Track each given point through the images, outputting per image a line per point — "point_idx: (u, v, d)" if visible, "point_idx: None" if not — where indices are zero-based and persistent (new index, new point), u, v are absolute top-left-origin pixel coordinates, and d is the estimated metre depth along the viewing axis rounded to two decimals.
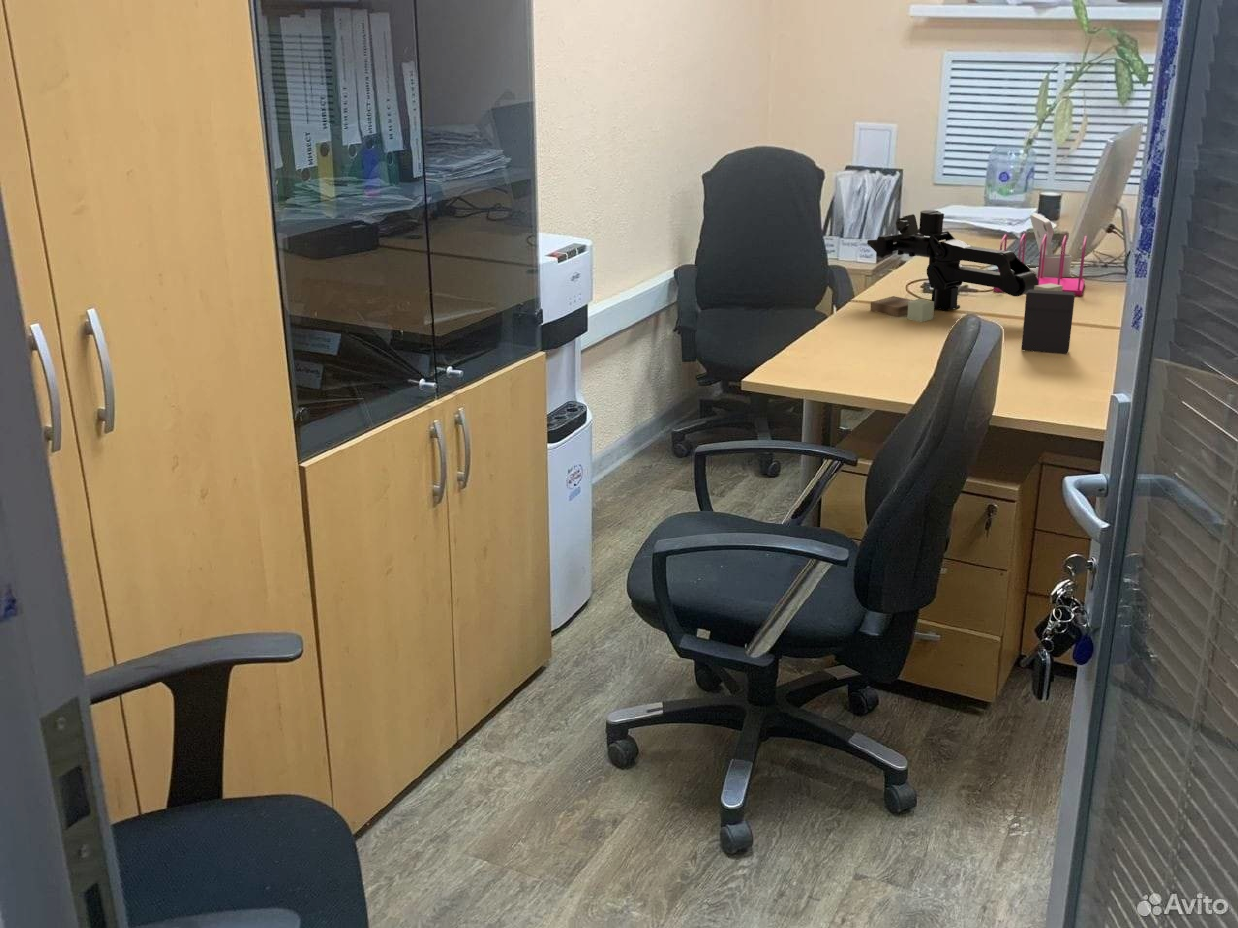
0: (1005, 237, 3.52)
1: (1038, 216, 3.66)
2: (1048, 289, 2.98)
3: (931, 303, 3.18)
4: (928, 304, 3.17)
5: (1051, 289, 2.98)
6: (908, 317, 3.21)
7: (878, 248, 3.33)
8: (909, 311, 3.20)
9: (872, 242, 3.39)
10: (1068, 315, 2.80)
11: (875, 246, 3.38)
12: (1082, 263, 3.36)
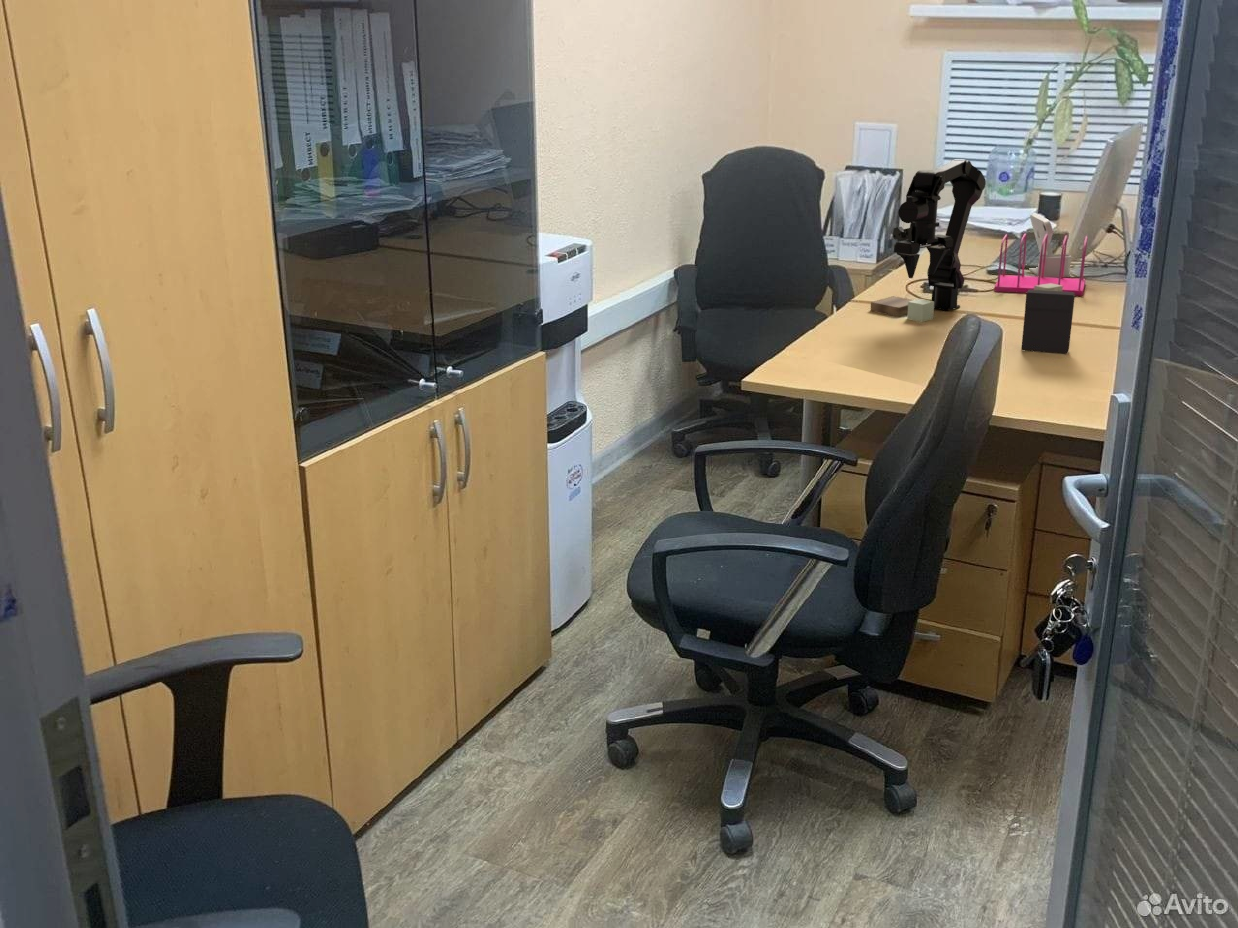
0: (1006, 237, 3.52)
1: (1038, 216, 3.66)
2: (1048, 289, 2.98)
3: (931, 303, 3.18)
4: (928, 304, 3.17)
5: (1051, 289, 2.98)
6: (908, 317, 3.21)
7: (902, 251, 3.08)
8: (909, 311, 3.20)
9: (908, 269, 3.13)
10: (1068, 315, 2.80)
11: (910, 264, 3.11)
12: (1083, 263, 3.36)
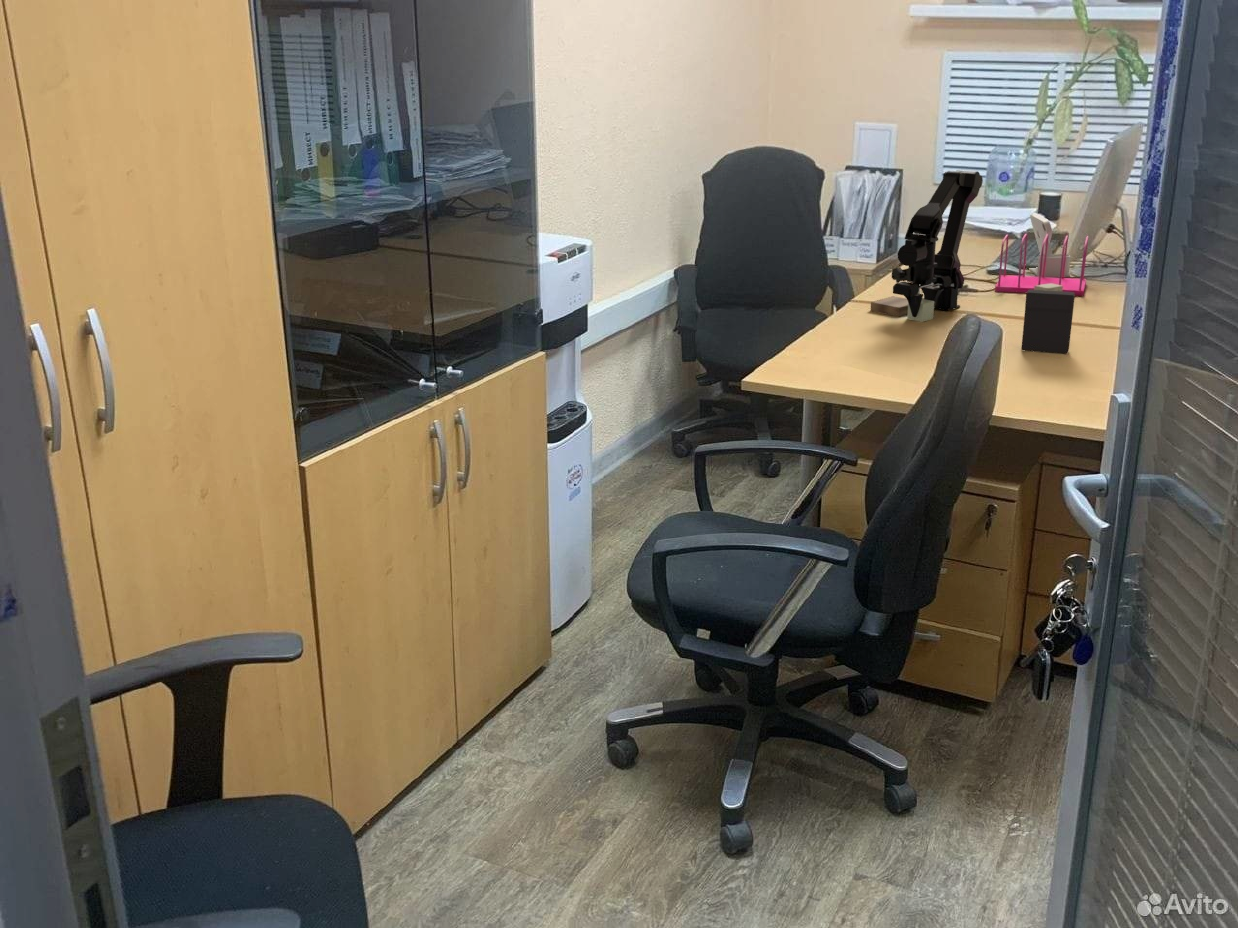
0: (1007, 237, 3.52)
1: (1037, 216, 3.66)
2: (1048, 289, 2.98)
3: (931, 303, 3.18)
4: (928, 304, 3.17)
5: (1051, 289, 2.98)
6: (908, 317, 3.21)
7: (901, 292, 3.12)
8: (909, 311, 3.20)
9: (911, 308, 3.18)
10: (1068, 315, 2.80)
11: (914, 303, 3.16)
12: (1083, 263, 3.36)
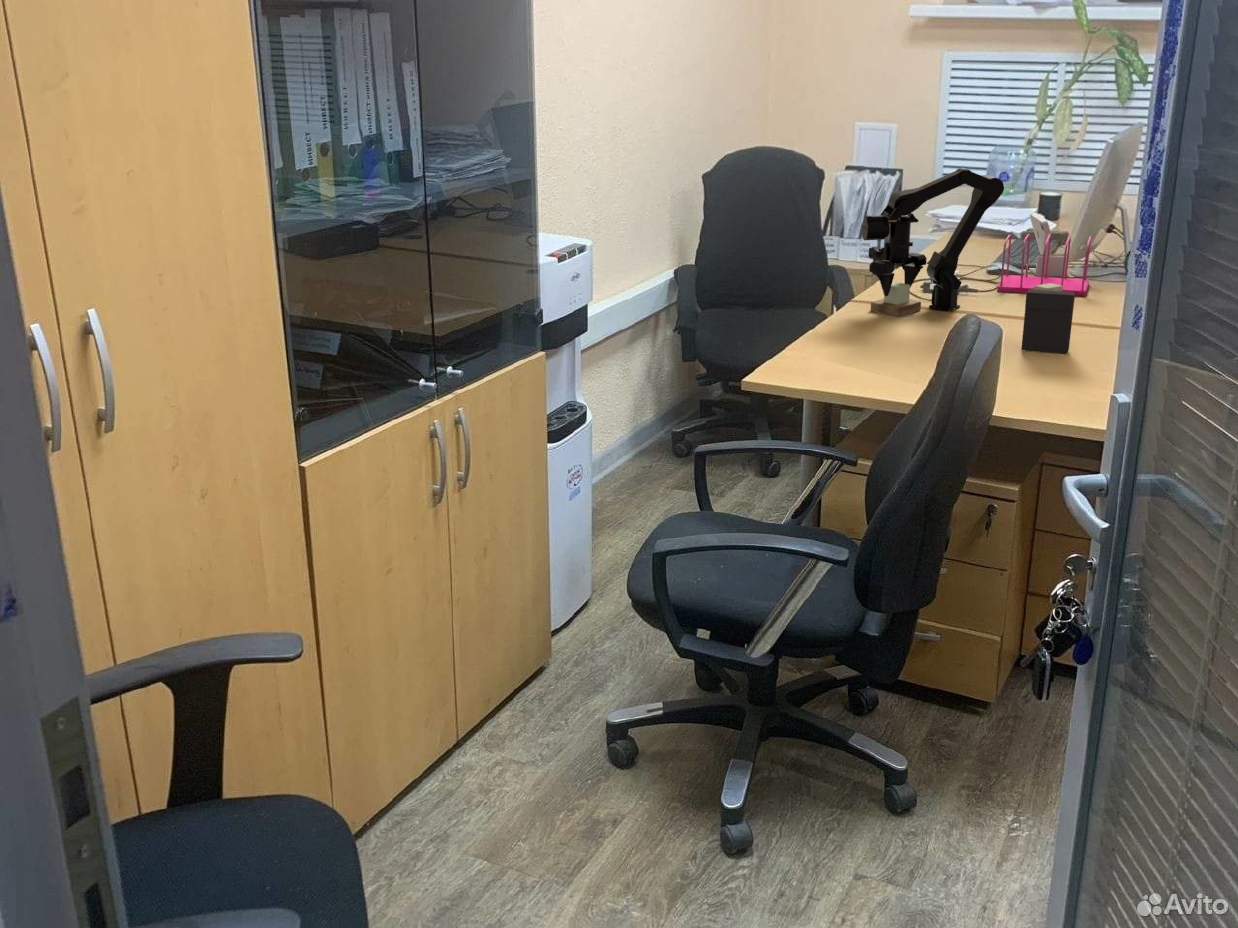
0: (1009, 237, 3.51)
1: (1037, 215, 3.67)
2: (1048, 289, 2.98)
3: (907, 286, 3.27)
4: (904, 287, 3.26)
5: (1051, 289, 2.98)
6: (885, 300, 3.29)
7: (877, 270, 3.20)
8: None
9: (883, 287, 3.25)
10: (1068, 315, 2.80)
11: (885, 283, 3.23)
12: (1086, 263, 3.35)
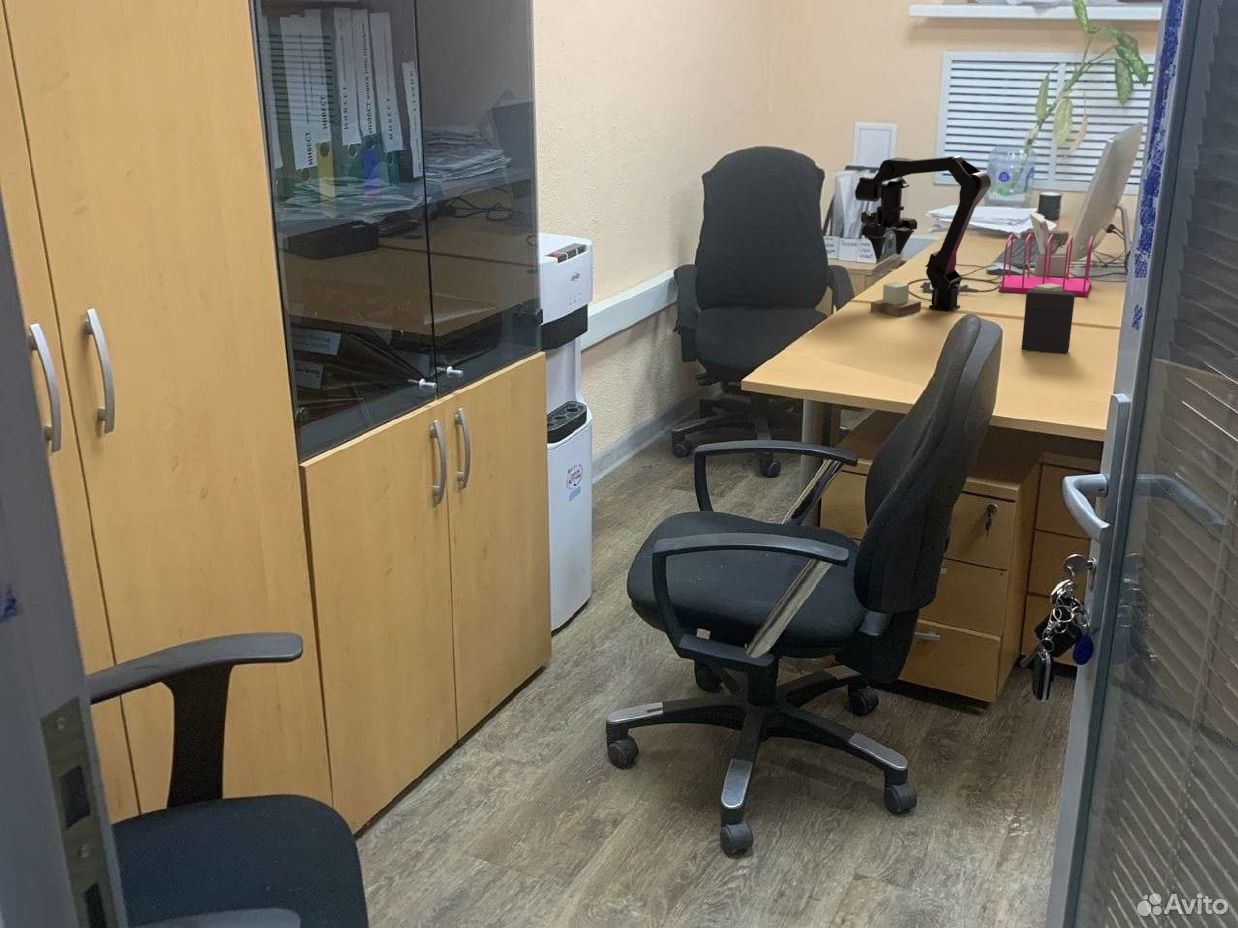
0: (1011, 237, 3.51)
1: (1036, 215, 3.67)
2: (1048, 289, 2.98)
3: (905, 286, 3.27)
4: (902, 287, 3.26)
5: (1051, 289, 2.98)
6: (883, 300, 3.30)
7: (869, 234, 3.29)
8: (884, 294, 3.29)
9: (875, 250, 3.34)
10: (1068, 315, 2.80)
11: (877, 246, 3.33)
12: (1087, 263, 3.35)
